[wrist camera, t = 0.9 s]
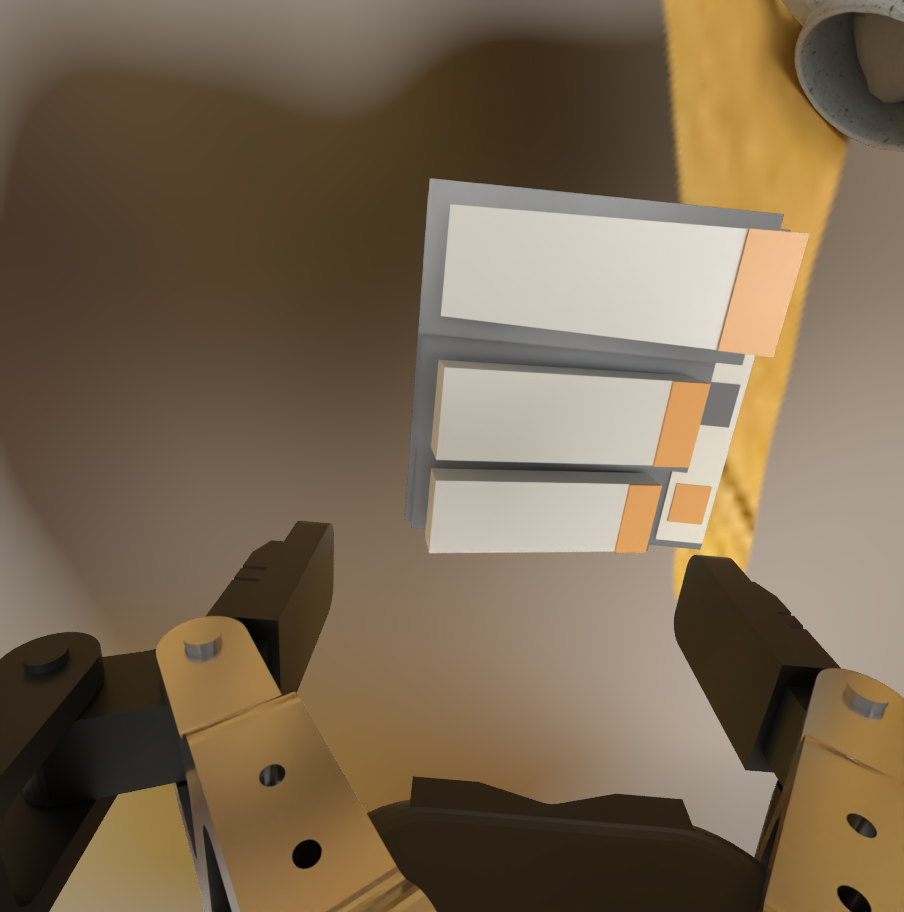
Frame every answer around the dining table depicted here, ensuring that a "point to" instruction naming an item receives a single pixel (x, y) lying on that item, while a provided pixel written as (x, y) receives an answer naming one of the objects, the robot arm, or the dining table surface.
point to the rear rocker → (539, 511)
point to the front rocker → (622, 277)
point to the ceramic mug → (854, 66)
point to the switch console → (577, 356)
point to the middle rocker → (565, 415)
